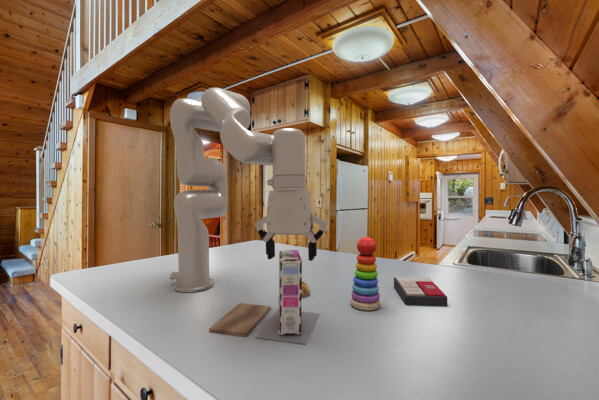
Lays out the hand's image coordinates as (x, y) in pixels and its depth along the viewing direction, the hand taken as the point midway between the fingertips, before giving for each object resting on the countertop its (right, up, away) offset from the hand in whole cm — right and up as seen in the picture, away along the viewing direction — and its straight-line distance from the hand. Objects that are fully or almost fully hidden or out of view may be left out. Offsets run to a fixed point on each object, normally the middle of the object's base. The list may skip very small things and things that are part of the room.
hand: (291, 258), depth 67 cm
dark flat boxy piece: (+37, -16, +19) cm, 44 cm away
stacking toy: (+20, -15, +12) cm, 28 cm away
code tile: (0, -16, +1) cm, 16 cm away
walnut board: (-12, -16, +4) cm, 20 cm away
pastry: (+1, -16, +20) cm, 25 cm away
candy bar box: (0, -16, +1) cm, 16 cm away
